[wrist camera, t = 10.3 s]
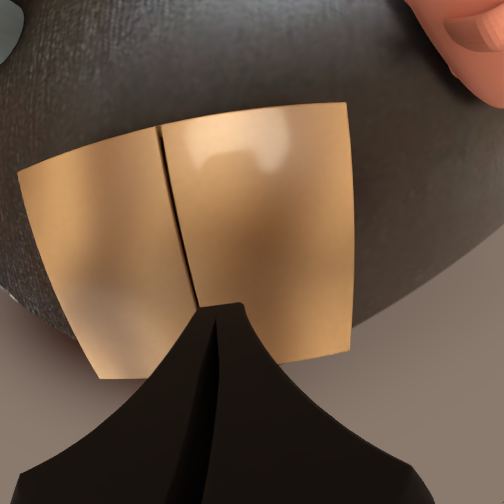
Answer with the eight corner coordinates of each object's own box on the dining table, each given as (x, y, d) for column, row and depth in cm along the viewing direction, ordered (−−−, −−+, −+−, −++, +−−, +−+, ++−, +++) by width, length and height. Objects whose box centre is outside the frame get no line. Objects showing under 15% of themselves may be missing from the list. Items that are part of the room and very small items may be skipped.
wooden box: (301, 110, 16) (348, 100, 9) (315, 280, 20) (351, 351, 13) (87, 151, 16) (15, 171, 9) (131, 306, 20) (98, 379, 13)
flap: (342, 103, 9) (346, 102, 9) (347, 345, 14) (349, 350, 13) (162, 125, 9) (160, 124, 9) (218, 366, 14) (218, 372, 13)
